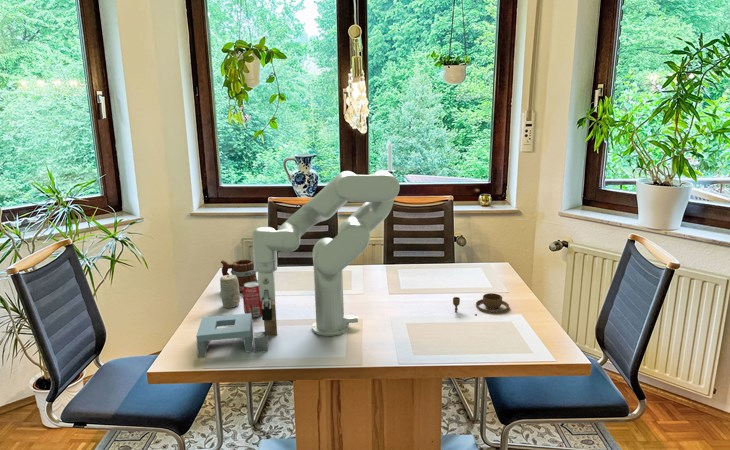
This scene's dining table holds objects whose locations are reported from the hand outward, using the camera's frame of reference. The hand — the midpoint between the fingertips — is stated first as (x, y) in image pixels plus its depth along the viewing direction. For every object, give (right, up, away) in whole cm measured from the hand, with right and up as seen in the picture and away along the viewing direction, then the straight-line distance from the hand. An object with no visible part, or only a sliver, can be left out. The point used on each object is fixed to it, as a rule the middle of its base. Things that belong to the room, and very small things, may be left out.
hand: (267, 314), depth 170 cm
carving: (-19, -2, +26) cm, 32 cm away
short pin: (0, -9, -9) cm, 13 cm away
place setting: (+76, -2, +20) cm, 79 cm away
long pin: (+1, -7, +2) cm, 7 cm away
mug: (-19, +3, +44) cm, 48 cm away
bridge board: (-12, -9, -5) cm, 16 cm away
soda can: (-8, -4, +17) cm, 19 cm away
